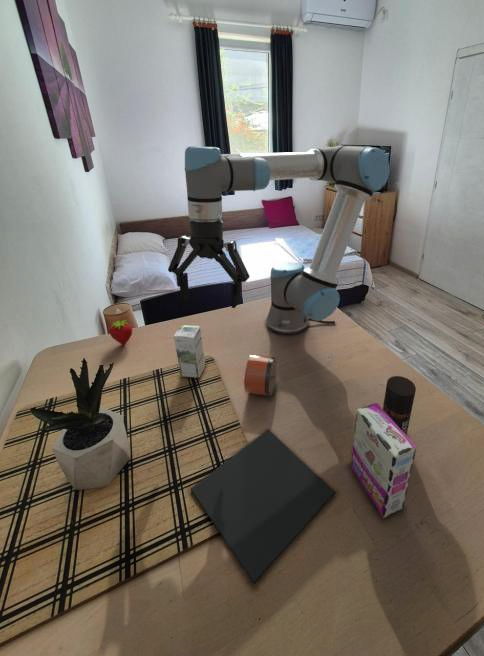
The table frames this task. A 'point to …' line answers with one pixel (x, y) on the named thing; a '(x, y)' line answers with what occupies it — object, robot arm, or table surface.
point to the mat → (261, 501)
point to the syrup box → (189, 351)
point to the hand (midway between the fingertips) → (209, 301)
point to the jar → (260, 375)
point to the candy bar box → (382, 458)
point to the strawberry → (121, 331)
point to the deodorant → (399, 401)
